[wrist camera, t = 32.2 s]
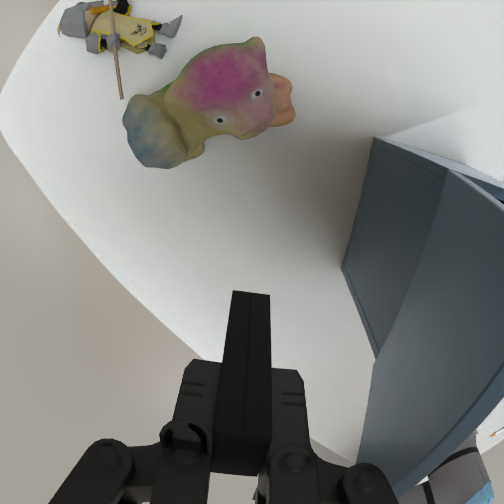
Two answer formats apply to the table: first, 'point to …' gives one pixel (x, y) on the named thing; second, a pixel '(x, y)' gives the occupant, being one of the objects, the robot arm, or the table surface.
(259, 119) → the sculpture
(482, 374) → the lid
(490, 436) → the pencil
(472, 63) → the table surface
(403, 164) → the storage box
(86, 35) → the toy
